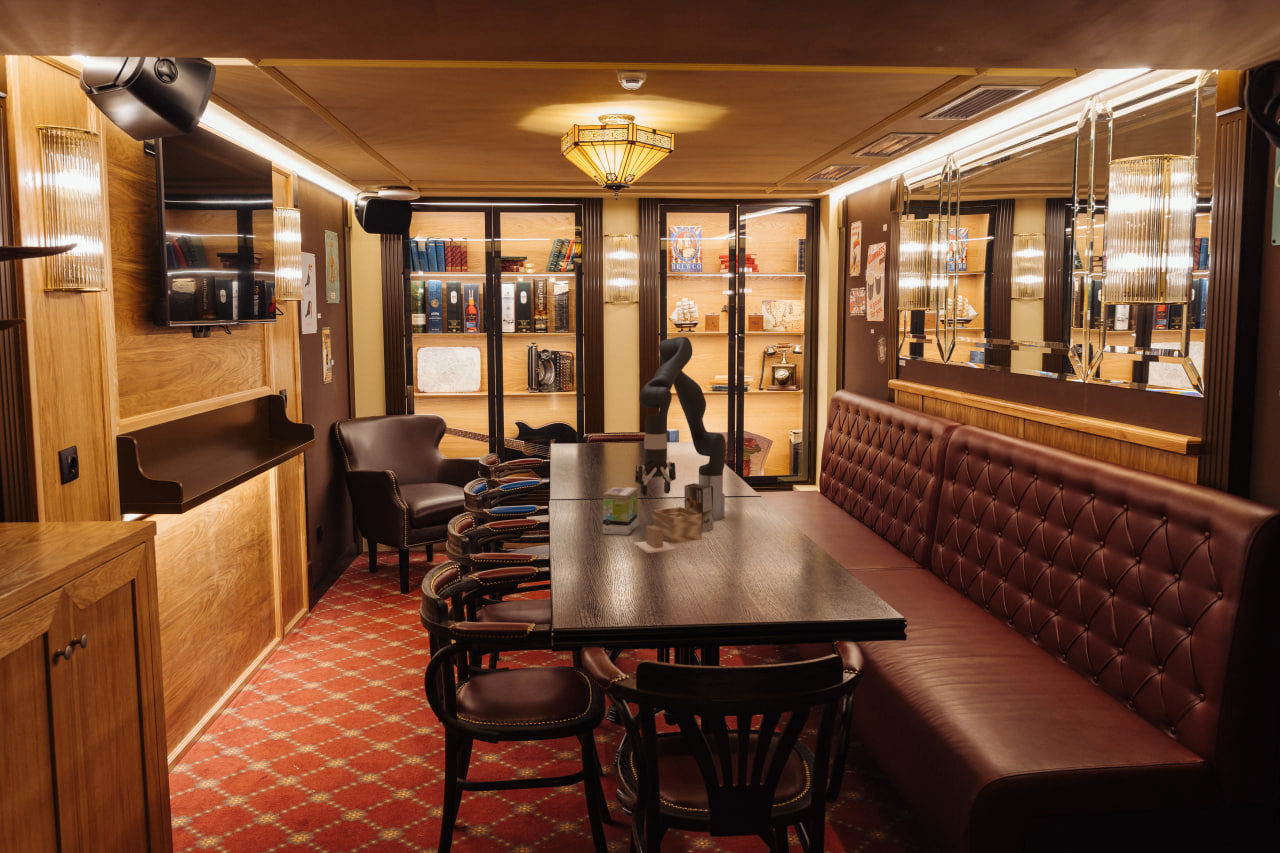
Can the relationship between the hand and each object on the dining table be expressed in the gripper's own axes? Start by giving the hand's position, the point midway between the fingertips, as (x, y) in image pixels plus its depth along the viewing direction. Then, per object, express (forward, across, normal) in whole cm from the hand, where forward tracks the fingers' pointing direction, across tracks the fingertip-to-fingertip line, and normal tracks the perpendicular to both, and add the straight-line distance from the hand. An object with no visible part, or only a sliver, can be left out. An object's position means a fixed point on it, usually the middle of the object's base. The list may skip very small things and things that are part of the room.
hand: (655, 494), depth 296 cm
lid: (+18, 0, 0) cm, 18 cm away
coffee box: (+18, -27, -15) cm, 36 cm away
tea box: (+18, -1, -27) cm, 32 cm away
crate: (+18, -14, -9) cm, 24 cm away
